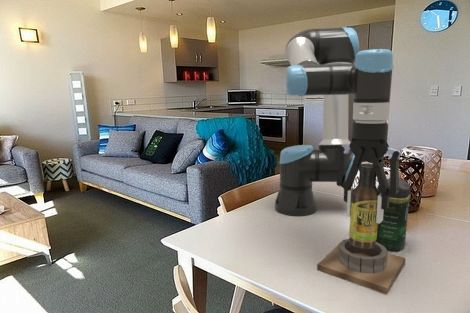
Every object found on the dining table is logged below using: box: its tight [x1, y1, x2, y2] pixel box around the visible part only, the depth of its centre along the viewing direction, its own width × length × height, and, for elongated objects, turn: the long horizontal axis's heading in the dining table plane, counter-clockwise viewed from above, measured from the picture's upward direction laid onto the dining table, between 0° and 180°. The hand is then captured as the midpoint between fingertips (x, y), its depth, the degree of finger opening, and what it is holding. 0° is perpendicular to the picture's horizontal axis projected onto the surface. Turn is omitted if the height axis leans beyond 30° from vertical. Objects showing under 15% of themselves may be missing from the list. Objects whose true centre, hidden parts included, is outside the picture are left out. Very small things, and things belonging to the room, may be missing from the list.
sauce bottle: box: [348, 163, 380, 249], centre depth 77 cm, size 6×6×20 cm
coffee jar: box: [375, 177, 411, 251], centre depth 90 cm, size 10×8×19 cm
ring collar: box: [316, 238, 406, 295], centre depth 80 cm, size 16×16×5 cm
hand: (364, 217), depth 78 cm, fingers closed on sauce bottle, 6 cm apart
